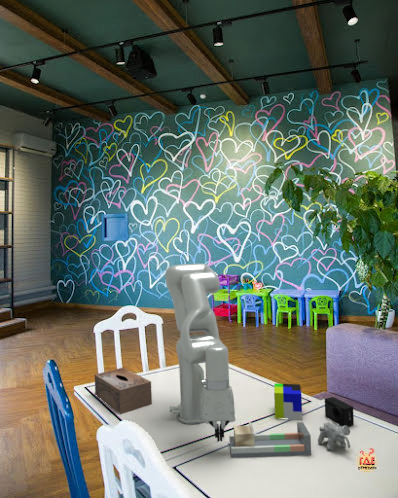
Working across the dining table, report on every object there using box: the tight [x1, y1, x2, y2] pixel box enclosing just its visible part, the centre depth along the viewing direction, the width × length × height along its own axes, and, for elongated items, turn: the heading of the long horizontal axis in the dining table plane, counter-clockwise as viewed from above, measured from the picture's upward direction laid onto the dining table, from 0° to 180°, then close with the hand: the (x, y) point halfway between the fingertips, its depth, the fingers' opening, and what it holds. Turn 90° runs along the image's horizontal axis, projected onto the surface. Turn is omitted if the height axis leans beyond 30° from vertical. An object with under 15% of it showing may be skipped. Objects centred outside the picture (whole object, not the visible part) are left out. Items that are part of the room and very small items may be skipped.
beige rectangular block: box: [233, 421, 256, 447], centre depth 126 cm, size 6×9×6 cm
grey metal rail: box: [228, 432, 312, 459], centre depth 126 cm, size 25×9×3 cm, turn 90°
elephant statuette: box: [317, 422, 351, 451], centre depth 125 cm, size 9×12×8 cm
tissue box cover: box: [94, 367, 153, 415], centre depth 171 cm, size 26×14×10 cm, turn 38°
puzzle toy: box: [273, 383, 303, 421], centre depth 151 cm, size 10×10×10 cm
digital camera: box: [324, 396, 355, 428], centre depth 144 cm, size 10×5×7 cm, turn 22°
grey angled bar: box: [296, 421, 312, 452], centre depth 126 cm, size 2×9×5 cm, turn 0°
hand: (219, 439), depth 126 cm, fingers closed
